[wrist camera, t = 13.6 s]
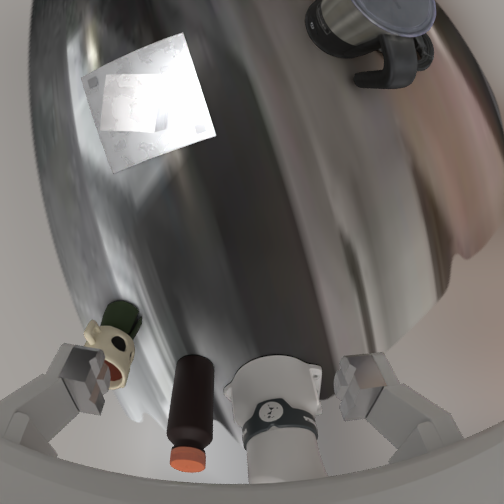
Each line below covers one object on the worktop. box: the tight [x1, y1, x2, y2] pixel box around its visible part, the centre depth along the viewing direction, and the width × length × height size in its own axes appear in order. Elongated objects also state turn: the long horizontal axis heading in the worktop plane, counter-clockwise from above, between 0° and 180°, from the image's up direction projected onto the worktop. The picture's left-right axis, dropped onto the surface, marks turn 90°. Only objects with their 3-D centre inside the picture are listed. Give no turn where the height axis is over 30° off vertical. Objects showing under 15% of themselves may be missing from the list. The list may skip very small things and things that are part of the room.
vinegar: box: [167, 355, 214, 472], centre depth 43 cm, size 7×7×20 cm
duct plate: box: [81, 33, 216, 174], centre depth 31 cm, size 14×14×4 cm
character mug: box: [84, 301, 142, 390], centre depth 40 cm, size 11×7×13 cm, turn 13°
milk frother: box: [305, 0, 436, 89], centre depth 23 cm, size 14×16×15 cm
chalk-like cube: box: [100, 74, 172, 133], centre depth 30 cm, size 6×6×6 cm
